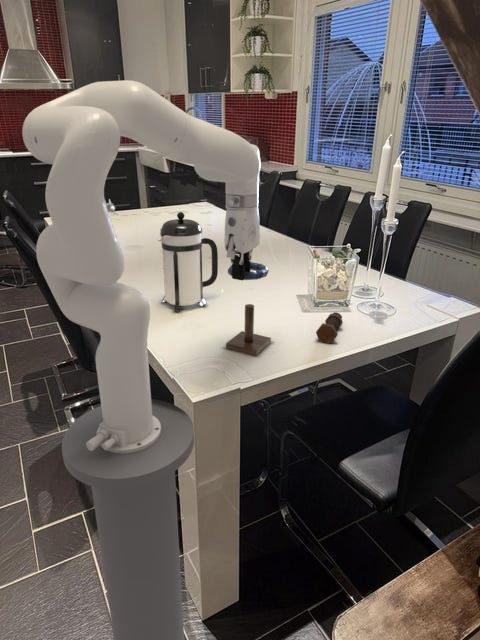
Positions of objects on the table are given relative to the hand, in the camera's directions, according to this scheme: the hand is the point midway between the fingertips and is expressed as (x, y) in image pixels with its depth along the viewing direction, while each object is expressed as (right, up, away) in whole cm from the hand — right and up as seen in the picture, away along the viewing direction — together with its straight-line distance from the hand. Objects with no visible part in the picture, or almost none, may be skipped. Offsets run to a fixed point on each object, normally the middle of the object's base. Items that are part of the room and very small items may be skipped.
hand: (241, 277), depth 114 cm
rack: (+2, -17, +11) cm, 21 cm away
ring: (+2, +2, +3) cm, 4 cm away
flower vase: (-59, +18, +90) cm, 109 cm away
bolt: (+26, -14, +20) cm, 36 cm away
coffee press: (-18, -5, +40) cm, 44 cm away
